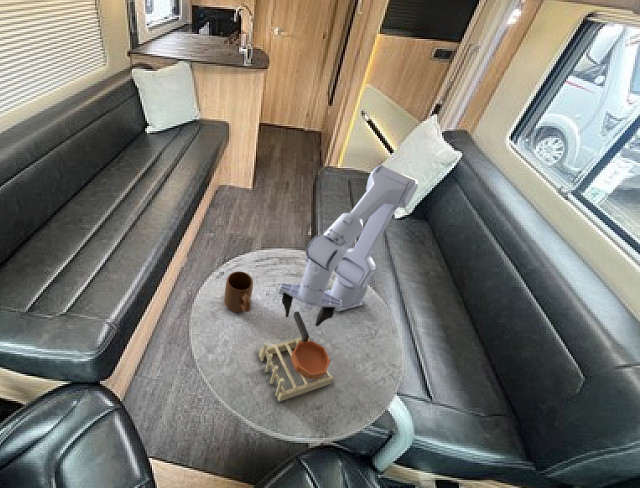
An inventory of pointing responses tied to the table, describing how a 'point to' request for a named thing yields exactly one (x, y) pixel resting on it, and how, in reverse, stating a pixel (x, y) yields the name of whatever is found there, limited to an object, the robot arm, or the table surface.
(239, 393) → the table surface
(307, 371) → the pan
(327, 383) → the rack
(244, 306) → the mug
